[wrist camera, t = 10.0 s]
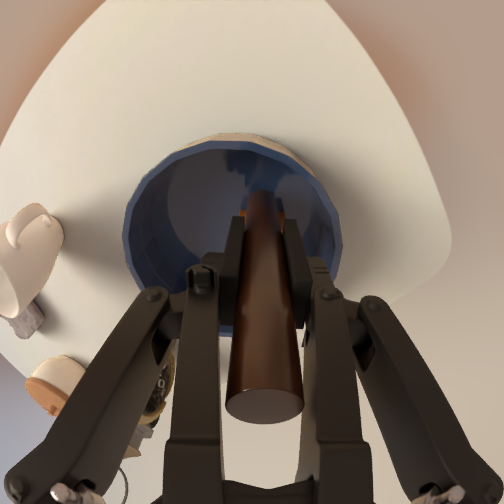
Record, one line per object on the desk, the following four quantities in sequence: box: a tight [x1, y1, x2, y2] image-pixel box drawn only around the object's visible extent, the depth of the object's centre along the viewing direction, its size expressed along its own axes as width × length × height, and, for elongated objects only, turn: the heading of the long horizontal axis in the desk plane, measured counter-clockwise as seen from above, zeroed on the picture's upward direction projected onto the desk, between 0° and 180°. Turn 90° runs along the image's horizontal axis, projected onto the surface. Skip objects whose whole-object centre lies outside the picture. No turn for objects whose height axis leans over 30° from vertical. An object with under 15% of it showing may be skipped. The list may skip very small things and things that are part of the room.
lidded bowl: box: [25, 356, 86, 417], centre depth 36 cm, size 13×13×11 cm
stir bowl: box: [122, 133, 343, 337], centre depth 24 cm, size 17×17×6 cm
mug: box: [0, 203, 64, 318], centre depth 22 cm, size 12×8×11 cm
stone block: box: [0, 300, 45, 339], centre depth 32 cm, size 12×5×10 cm
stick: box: [225, 190, 305, 424], centre depth 15 cm, size 2×2×18 cm
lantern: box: [119, 344, 175, 504], centre depth 24 cm, size 9×8×25 cm
